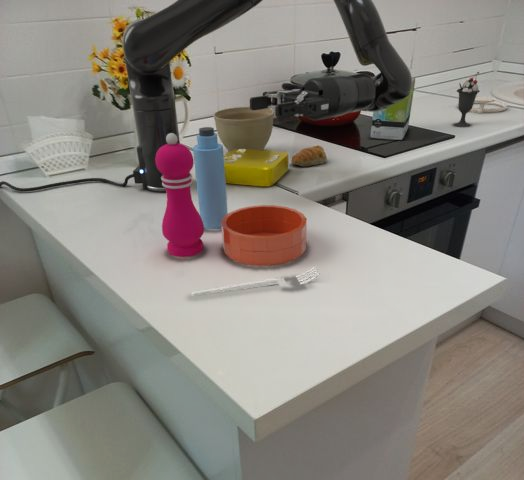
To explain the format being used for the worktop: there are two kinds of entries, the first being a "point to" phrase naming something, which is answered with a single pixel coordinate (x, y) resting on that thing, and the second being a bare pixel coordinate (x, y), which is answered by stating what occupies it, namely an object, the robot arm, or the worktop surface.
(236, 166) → the element tile
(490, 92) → the worktop surface
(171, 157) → the pepper mill
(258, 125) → the planter bowl
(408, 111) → the tea box
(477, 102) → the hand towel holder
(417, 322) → the worktop surface
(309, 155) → the pastry
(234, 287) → the fork
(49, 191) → the worktop surface
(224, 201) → the bottle
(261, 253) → the pot
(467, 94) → the sundae
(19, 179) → the worktop surface
